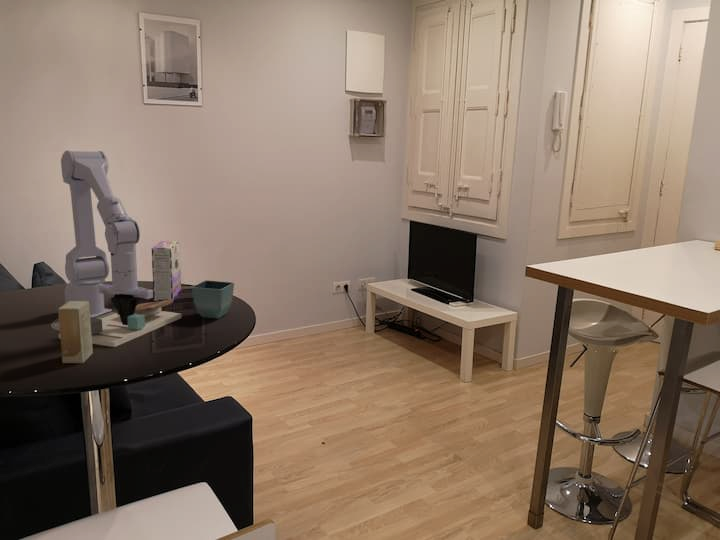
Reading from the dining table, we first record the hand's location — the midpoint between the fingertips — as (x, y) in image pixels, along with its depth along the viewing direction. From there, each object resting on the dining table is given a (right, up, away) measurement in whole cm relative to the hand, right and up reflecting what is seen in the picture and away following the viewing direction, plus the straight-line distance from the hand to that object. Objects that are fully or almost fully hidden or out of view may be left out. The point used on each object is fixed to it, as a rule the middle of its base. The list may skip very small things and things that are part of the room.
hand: (127, 323), depth 144 cm
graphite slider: (-6, -2, -5) cm, 8 cm away
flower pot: (+17, 0, +17) cm, 24 cm away
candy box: (-2, +5, +37) cm, 38 cm away
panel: (-2, -1, +4) cm, 5 cm away
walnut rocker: (+1, +3, +10) cm, 10 cm away
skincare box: (-3, -6, -18) cm, 19 cm away
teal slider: (+3, -1, -1) cm, 3 cm away
